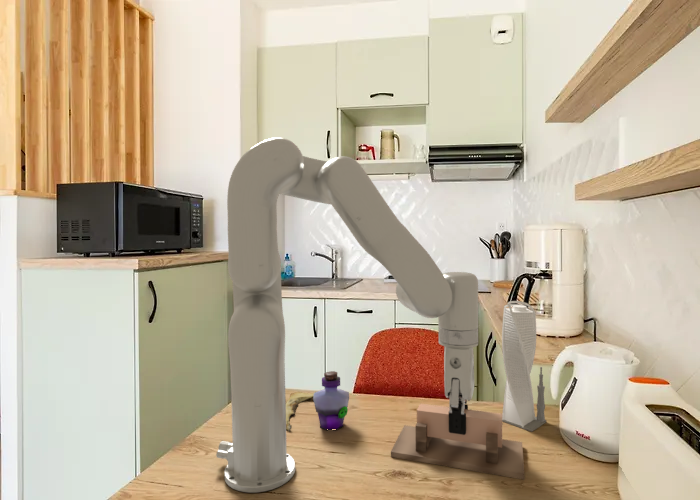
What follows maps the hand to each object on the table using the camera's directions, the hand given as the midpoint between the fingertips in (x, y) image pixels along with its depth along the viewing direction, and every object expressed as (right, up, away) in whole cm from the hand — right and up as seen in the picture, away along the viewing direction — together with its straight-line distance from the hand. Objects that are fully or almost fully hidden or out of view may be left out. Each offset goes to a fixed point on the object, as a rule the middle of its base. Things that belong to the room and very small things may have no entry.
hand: (458, 427), depth 85 cm
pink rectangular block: (0, -2, 0) cm, 2 cm away
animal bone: (-34, -5, +20) cm, 40 cm away
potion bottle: (-25, -5, +12) cm, 29 cm away
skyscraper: (+17, -4, +13) cm, 22 cm away
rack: (0, -5, 0) cm, 5 cm away
